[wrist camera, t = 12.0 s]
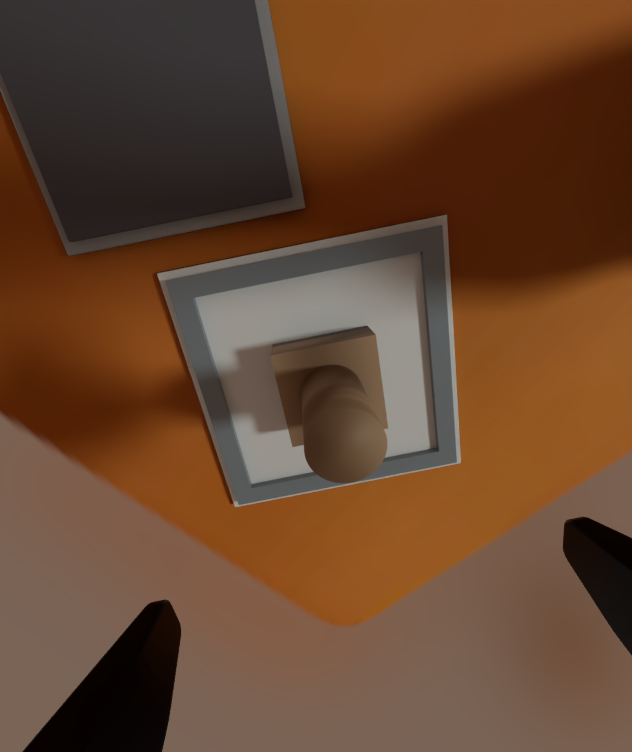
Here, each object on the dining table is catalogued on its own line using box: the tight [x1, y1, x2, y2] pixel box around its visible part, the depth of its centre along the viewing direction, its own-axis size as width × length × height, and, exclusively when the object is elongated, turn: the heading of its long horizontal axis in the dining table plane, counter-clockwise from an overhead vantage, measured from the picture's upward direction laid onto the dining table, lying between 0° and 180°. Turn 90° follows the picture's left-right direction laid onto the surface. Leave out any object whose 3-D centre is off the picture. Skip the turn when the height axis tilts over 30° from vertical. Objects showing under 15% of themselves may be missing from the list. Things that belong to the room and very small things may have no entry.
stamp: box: [270, 326, 388, 483], centre depth 16 cm, size 5×5×7 cm
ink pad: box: [0, 0, 305, 256], centre depth 14 cm, size 11×11×1 cm
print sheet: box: [157, 215, 461, 507], centre depth 19 cm, size 14×14×1 cm
